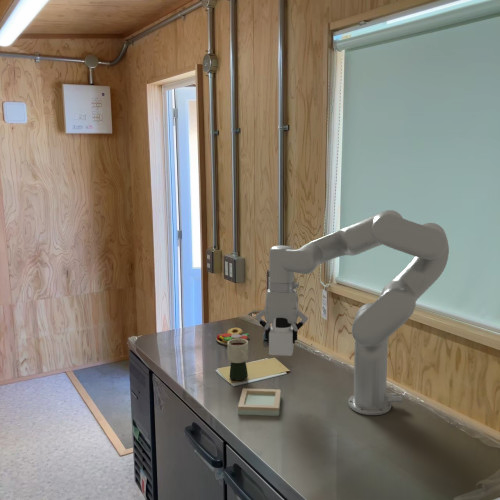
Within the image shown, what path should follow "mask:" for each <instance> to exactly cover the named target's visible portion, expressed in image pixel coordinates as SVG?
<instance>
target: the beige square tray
mask: <svg viewBox="0 0 500 500" xmlns="http://www.w3.org/2000/svg"><path fill="white" fill-rule="evenodd" d="M281 393H282V390H281V388H280V389H274V388H273V389H272V388H269V389H268V388H245V387H244V388H242V389H241V394H240V397H239V401H238V405H237V415H239V416H241V415H242V416H244V415H245V416H271V417H272V416H273V417H280V409H281V406H280V405H281V398H282V394H281Z"/></svg>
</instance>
